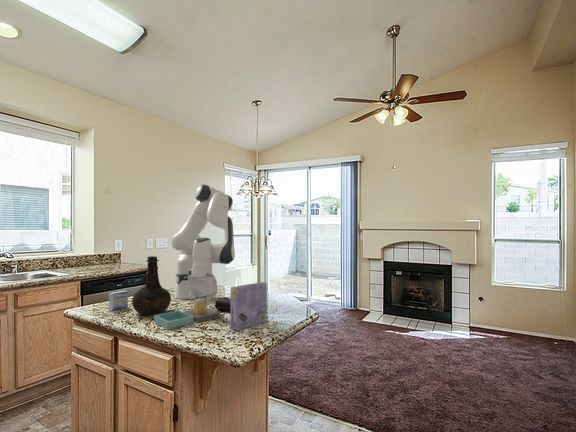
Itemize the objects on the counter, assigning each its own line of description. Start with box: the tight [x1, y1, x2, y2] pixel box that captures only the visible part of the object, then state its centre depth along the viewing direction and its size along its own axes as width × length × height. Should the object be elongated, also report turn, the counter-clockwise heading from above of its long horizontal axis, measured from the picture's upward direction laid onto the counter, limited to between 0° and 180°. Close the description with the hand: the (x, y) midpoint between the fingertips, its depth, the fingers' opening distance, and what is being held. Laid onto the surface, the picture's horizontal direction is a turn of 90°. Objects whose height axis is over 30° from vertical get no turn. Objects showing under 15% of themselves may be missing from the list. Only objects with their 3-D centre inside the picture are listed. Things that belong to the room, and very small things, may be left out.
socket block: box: [182, 307, 220, 324], centre depth 147 cm, size 12×14×2 cm
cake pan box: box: [230, 281, 268, 332], centre depth 137 cm, size 19×5×18 cm, turn 141°
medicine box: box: [108, 290, 129, 312], centre depth 163 cm, size 8×4×9 cm, turn 143°
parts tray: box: [153, 310, 194, 330], centre depth 138 cm, size 12×14×4 cm
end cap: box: [214, 296, 231, 313], centre depth 158 cm, size 10×7×7 cm
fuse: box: [193, 297, 208, 314], centre depth 147 cm, size 5×3×8 cm, turn 135°
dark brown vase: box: [131, 255, 172, 316], centre depth 155 cm, size 18×18×28 cm
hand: (202, 301), depth 148 cm, fingers open, 8 cm apart
